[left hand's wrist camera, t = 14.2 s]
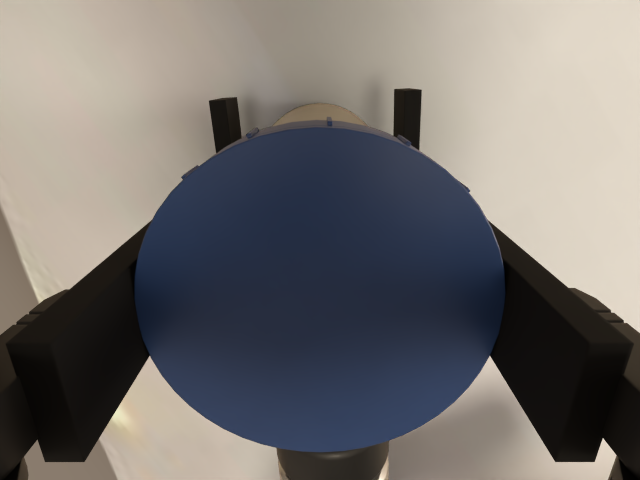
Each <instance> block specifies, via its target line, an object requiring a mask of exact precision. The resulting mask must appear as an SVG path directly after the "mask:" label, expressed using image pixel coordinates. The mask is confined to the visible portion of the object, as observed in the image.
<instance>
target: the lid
mask: <svg viewBox="0 0 640 480" xmlns="http://www.w3.org/2000/svg"><path fill="white" fill-rule="evenodd" d="M181 178H182V179H183V180H182V181H181V182H180V183H179V185H178V186H177V187H176V188H175V189H174V190H173V191H172V192H171V193H170V194H169V195H168V197H167V198H166V200H165V201H164V202H163V204H162V205H161V206H160V208H159V209H158V210H157V212H156V214H155V216H154V218H153V220H152V221H151V223H150V225H149V227H148V229H147V231H146V233H145V236H144V239H143V242H142V245H141V248H140V251H139V254H138V259H137V265H136V271H135V284H134V300H135V306H136V311H137V317H138V322H139V327H140V331H141V335H142V338H143V341H144V343H145V345H146V348H147V350H148V352H149V354H150V357H151V359H152V360H153V362H154V363H155V365H156V367H157V368H158V370H159V372H160V373H161V375H162V376H163V377H164V379H165V380H166V381H167V382H168V384H169V385H170V386H171V387H172V389H173V390H174V391H175V392H176V393H177V394H178V395H179V396H180V397H181V398H182V399H183V400H184V401H185V402H186V403H187V404H188V405H189V406H191V407H192V408H193V409H195V410H196V411H197V412H198V413H200V414H201V415H202V416H204V417H205V418H206V419H208V420H210V421H211V422H213V423H215V424H216V425H218V426H220V427H221V428H223V429H225V430H227V431H229V432H232V433H234V434H236V435H238V436H240V437H242V438H245V439H248V440H251V441H254V442H257V443H260V444H263V445H268V446H272V447H276V448H280V449H287V450H294V451H302V452H335V451H346V450H352V449H359V448H364V447H368V446H372V445H376V444H379V443H383V442H386V441H389V440H391V439H394V438H397V437H399V436H402V435H404V434H406V433H408V432H410V431H412V430H414V429H416V428H418V427H420V426H422V425H424V424H425V423H427V422H428V421H430V420H431V419H433V418H434V417H436V416H438V415H439V414H440V413H441V412H443V411H444V410H445V409H446V408H448V407H449V406H450V405H451V404H452V403H454V402H455V401H456V400H457V399H458V398H459V397H460V396H461V395H462V394H463V393H464V391H465V390H466V389H467V388H468V387H469V386H470V385H471V383H472V382H473V381H474V379H475V378H476V377H477V375H478V374H479V373H480V371H481V370H482V368H483V366H484V365H485V363H486V361H487V359H488V358H489V356H490V354H491V352H492V349H493V347H494V344H495V342H496V339H497V337H498V334H499V330H500V325H501V320H502V316H503V310H504V304H505V294H506V290H505V272H504V266H503V261H502V257H501V252H500V248H499V245H498V243H497V240H496V238H495V235H494V232H493V230H492V227H491V225H490V224H489V222H488V220H487V218H486V217H485V215H484V213H483V211H482V210H481V208H480V206H479V205H478V204H477V202H476V201H475V200H474V199H473V197H472V196H471V195H470V194H469V192H470V190H469V189H468V188H467V187H466V186H465V185H463V184H462V183H461V182H459V181H458V180H457V179H455V178H454V177H453V176H452V175H451V174H450V173H449V172H448V171H446V170H445V169H444V168H443V167H441V166H440V165H438V164H437V163H436V162H434V161H433V160H432V159H430V158H429V157H427V156H426V155H425V154H423V153H422V152H420V151H419V150H417V149H416V148H414V147H413V146H411V142H410V141H408V140H407V139H405V138H404V137H403V136H401V135H398V136H397V138H396V137H394V136H392V135H390V134H388V133H386V132H383V131H380V130H377V129H374V128H371V127H368V126H365V125H359V124H354V123H349V122H343V121H332V118H331V117H327V120H309V121H297V122H290V123H285V124H281V125H276V126H272V127H268V128H265V129H263V130H260V131H259V130H258V128H255V129H253V130H252V131H250V132H249V133H248V134H246V136H245V137H243V138H241V139H239V140H237V141H236V142H234V143H232V144H230V145H228V146H226V147H225V148H223V149H222V150H221V151H219V152H218V153H217V154H215V155H214V156H212V157H211V158H210V159H208V160H207V161H206V162H204V163H203V164H202V165H200V166H198V165H197V166H195V167H194V168H192V169H191V170H190V171H188V172H187V173H185V174H184V175H183V176H182V177H181Z"/></svg>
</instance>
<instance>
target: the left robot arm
mask: <svg viewBox="0 0 640 480" xmlns="http://www.w3.org/2000/svg"><path fill="white" fill-rule="evenodd" d="M151 221H152V220H151ZM151 221H150V222H149V223H148V224H147V225H146V226H144V227H143V228H142V229H141V230H140V231H138V232H137V233H136V234H135V235H134V236H132V237H131V238H130V239H129V240H128V241H127V242H125V243H124V244H123V245H122V246H121V247H119V248H118V249H117V250H116V251H115V252H113V253H112V254H111V255H110V256H109V257H108V258H106V259H105V260H104V261H103V262H102V263H100V264H99V265H98V266H97V267H96V268H95V269H93V270H92V271H91V272H90V273H89V274H87V275H86V276H85V277H84V278H83V279H81V280H80V281H79V282H78V283H77V284H76V285H74V286H73V287H72V288H71V289H70V290H63V291H61V292H59V293H57V294H55V295H53V296H51V297H49V298H47V299H45V300H44V301H42V302H41V303H40V304H39V305H37V306H36V307H35V308H34V309H32V310H31V311H30V312H29V314H27V315H25V316H24V317H22V318H21V319H20V320H19V321H17V324H16V325H12V326H11V327H10V328H9V329H7V330H6V331H5V332H4V333H3V334H1V335H0V480H28V469H27V465H26V462H25V459H24V456H25V454H26V453H27V452H28V451H29V449H30V448H31V447H32V446H33V444H34V443H35V442H36V440H37V439H38V442H39V445H40V448H41V451H42V454H43V457H44V460H45V462H85V460H86V458H87V457H88V455H89V453H90V452H91V450H92V449H93V447H94V445H95V444H96V442H97V441H98V439H99V437H100V436H101V434H102V432H103V431H104V429H105V428H106V426H107V424H108V423H109V421H110V419H111V418H112V416H113V414H114V413H115V411H116V410H117V408H118V406H119V405H120V403H121V401H122V400H123V398H124V397H125V395H126V393H127V392H128V390H129V388H130V387H131V385H132V384H133V382H134V380H135V379H136V377H137V375H138V374H139V372H140V371H141V369H142V367H143V366H144V364H145V362H146V361H147V359H148V357H149V356H150V354H149V352H148V350H147V348H146V345H145V343H144V341H143V338H142V335H141V331H140V327H139V322H138V317H137V311H136V306H135V300H134V284H135V271H136V265H137V259H138V254H139V251H140V248H141V245H142V242H143V239H144V236H145V233H146V231H147V229H148V227H149V225H150V223H151ZM488 222H489V221H488ZM489 224H490V225H491V227H492V230H493V232H494V235H495V238H496V240H497V243H498V245H499V248H500V252H501V257H502V261H503V266H504V272H505V290H506V294H505V304H504V310H503V316H502V320H501V325H500V330H499V334H498V337H497V339H496V342H495V344H494V347H493V349H492V352H491V354H490V356H491V358H492V360H493V361H494V363H495V364H496V366H497V368H498V369H499V371H500V373H501V374H502V376H503V377H504V379H505V381H506V382H507V384H508V386H509V387H510V389H511V390H512V392H513V394H514V395H515V397H516V399H517V400H518V402H519V403H520V405H521V407H522V408H523V410H524V412H525V413H526V415H527V417H528V418H529V420H530V421H531V423H532V425H533V426H534V428H535V430H536V431H537V433H538V434H539V436H540V438H541V439H542V441H543V443H544V444H545V446H546V447H547V449H548V451H549V452H550V454H551V456H552V457H553V459H554V461H555V462H595V459H596V456H597V453H598V450H599V447H600V444H601V441H602V438H604V440H605V441H606V442H607V444H608V445H609V446H610V447H611V449H612V450H613V451H614V452H615V454H616V455H617V456H616V459H615V462H614V465H613V467H612V470H611V473H610V476H609V479H608V480H640V333H639V332H637V331H636V330H635V329H634V328H632V327H631V326H630V325H629V324H627V323H624V320H622V319H621V318H620V317H619V316H617V315H616V314H615V313H611V310H610V309H609V308H607V307H606V306H605V305H604V304H602V303H601V302H600V301H599V300H597V299H596V298H594V297H592V296H590V295H588V294H586V293H584V292H582V291H580V290H578V289H576V288H568V287H567V286H565V285H564V284H563V283H562V282H561V281H559V280H558V279H557V278H556V277H555V276H554V275H552V274H551V273H550V272H549V271H548V270H546V269H545V268H544V267H543V266H542V265H540V264H539V263H538V262H537V261H536V260H535V259H533V258H532V257H531V256H530V255H529V254H527V253H526V252H525V251H524V250H523V249H521V248H520V247H519V246H518V245H517V244H516V243H514V242H513V241H512V240H511V239H510V238H508V237H507V236H506V235H505V234H504V233H503V232H501V231H500V230H499V229H498V228H497V227H495V226H494V225H493V224H492V223H491V222H489Z"/></svg>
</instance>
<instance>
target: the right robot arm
mask: <svg viewBox="0 0 640 480" xmlns="http://www.w3.org/2000/svg"><path fill="white" fill-rule="evenodd" d="M421 91H422V90H419V89H410V88H408V89H394V137H396V138H397V136H398V135H401V136H403V137H404V138H405V139H407V140H408V141H410V142H411V146H413V147H414V148H416V149H417V150H419V141H420V116H421ZM209 105H210V112H211V119H212V126H213V133H214V140H215V147H216V154H217V153H218V152H219V151H221V150H222V149H223V148H225V147H226V146H228V145H230V144H232V143H234V142H236V141H237V140H239V139H241V138H242V137H241V128H240V119H239V111H238V102H237V97H234V98H220V99H215V100H210V101H209ZM430 159H431V158H430ZM434 162H435V161H434ZM388 451H389V441H386V442H383V443H379V444H376V445H372V446H368V447H364V448H359V449H352V450H346V451H335V452H302V451H294V450H287V449H280V448H277V455H278V459H279V461H278V465H279V473H280V480H388V468H389V462H388Z"/></svg>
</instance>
